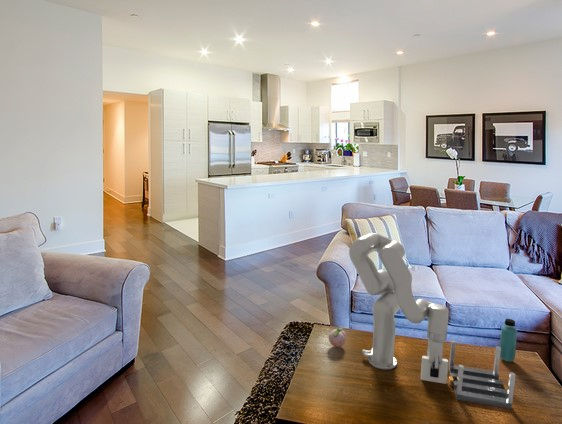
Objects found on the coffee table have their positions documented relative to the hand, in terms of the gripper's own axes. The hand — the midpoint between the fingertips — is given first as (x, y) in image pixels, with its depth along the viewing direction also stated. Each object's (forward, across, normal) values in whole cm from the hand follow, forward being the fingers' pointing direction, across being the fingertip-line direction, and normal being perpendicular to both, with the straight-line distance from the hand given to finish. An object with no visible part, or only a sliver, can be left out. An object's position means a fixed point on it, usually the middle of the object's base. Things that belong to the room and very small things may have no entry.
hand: (433, 374), depth 156 cm
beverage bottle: (+3, -26, +34) cm, 43 cm away
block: (+3, 0, 0) cm, 3 cm away
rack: (+3, 0, +17) cm, 17 cm away
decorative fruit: (+3, -15, -43) cm, 46 cm away
